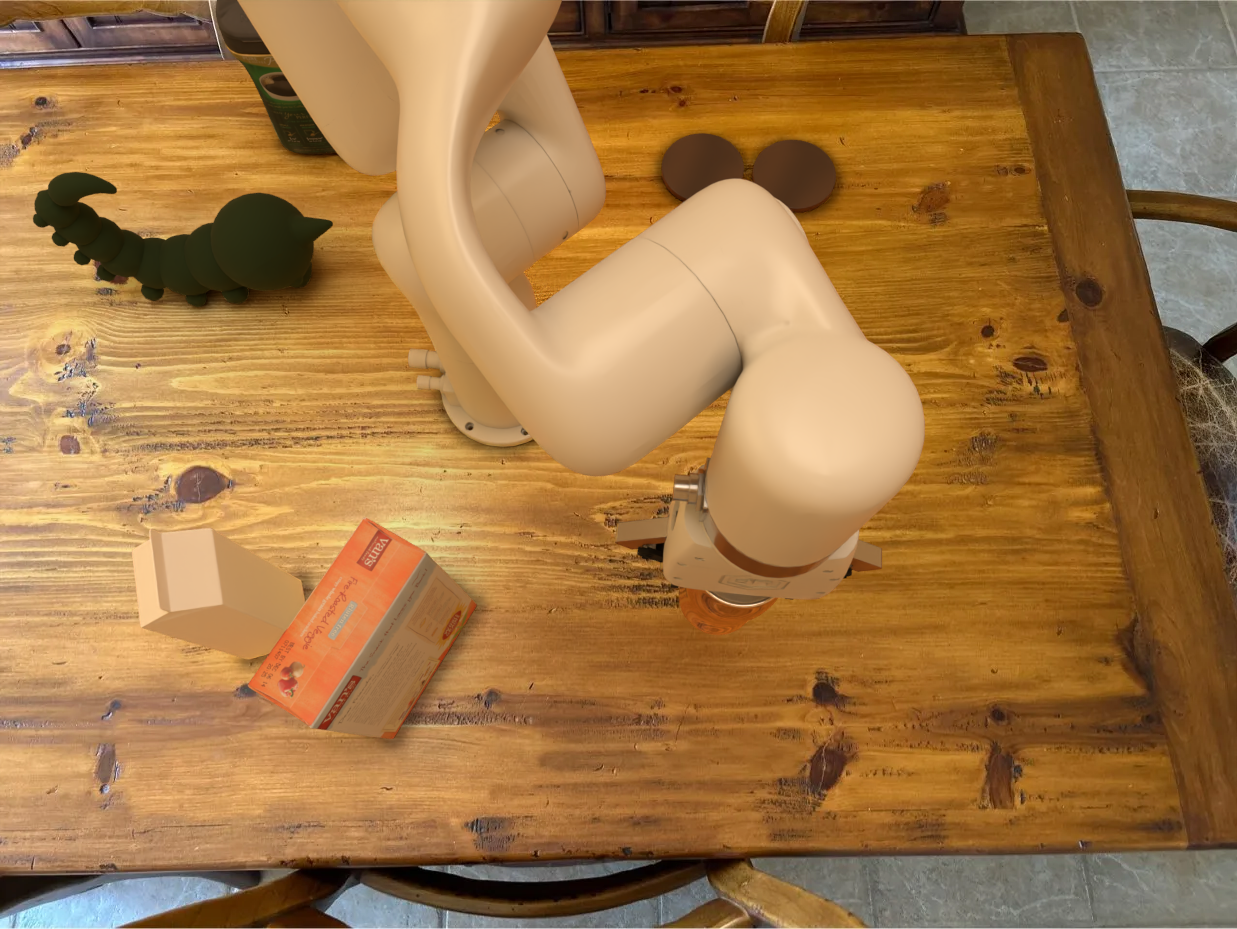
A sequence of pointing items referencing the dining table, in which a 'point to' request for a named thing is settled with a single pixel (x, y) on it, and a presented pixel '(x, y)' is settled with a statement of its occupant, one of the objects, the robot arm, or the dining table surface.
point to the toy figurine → (187, 244)
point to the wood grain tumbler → (721, 609)
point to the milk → (213, 592)
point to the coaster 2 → (795, 174)
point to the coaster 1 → (699, 164)
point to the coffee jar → (270, 82)
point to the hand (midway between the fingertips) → (732, 571)
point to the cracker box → (366, 637)
